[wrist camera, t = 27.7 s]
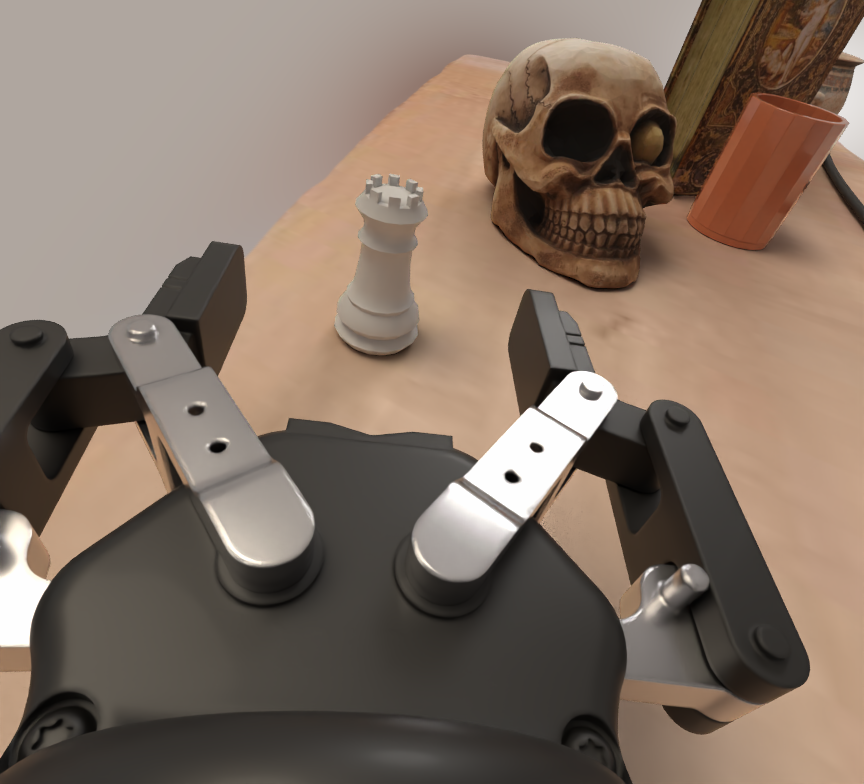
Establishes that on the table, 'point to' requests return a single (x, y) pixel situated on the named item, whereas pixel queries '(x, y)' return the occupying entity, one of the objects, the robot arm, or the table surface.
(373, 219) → the rook chess piece
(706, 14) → the book
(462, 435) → the table surface
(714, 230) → the pen pot
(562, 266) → the coin bank
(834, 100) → the cooking pot
